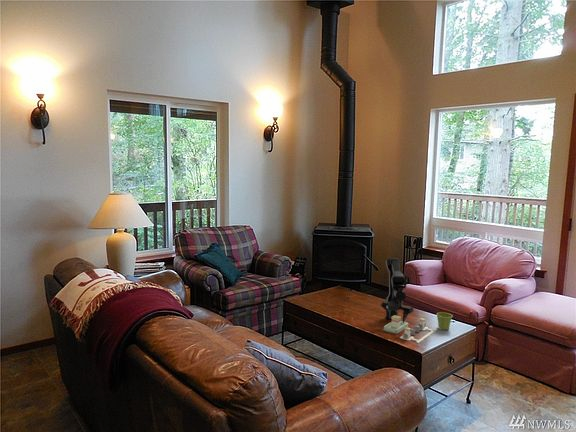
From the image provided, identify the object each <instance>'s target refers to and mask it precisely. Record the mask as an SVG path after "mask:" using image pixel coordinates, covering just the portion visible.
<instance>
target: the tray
mask: <svg viewBox="0 0 576 432" xmlns="http://www.w3.org/2000/svg"><path fill="white" fill-rule="evenodd" d="M391 323H392V321H391V322H389V323H387V324H385V325H384V326H383V327H382V330H383V331H385V332H387V333H390V334H391V333H392V334H394V335H398V334H399V333H401V332H402V331H405V329H404V328H405V327H408V328H409V327H410V326H409V324H410V323H409V322H407V321H405V322H404V323H403V320H401V327H399V328H398V329H394V328H391Z"/></svg>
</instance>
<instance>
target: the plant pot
mask: <svg viewBox="0 0 576 432" xmlns="http://www.w3.org/2000/svg"><path fill="white" fill-rule="evenodd" d="M436 317H437V323H438V324H437V325H438V328H439V330H443V331H447V330H448V331H449V330H450V327H451V322H452V318H453V314H451V313H448V312H442V311H441V312H437V313H436Z"/></svg>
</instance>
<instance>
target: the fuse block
mask: <svg viewBox="0 0 576 432" xmlns="http://www.w3.org/2000/svg"><path fill="white" fill-rule="evenodd" d="M421 331H422V332H423V331H424V332H425V331H429V332H428V333H426V334H425V335H424V336H422V337H421V338H419V339H418V338H417V339H416V338H415V337H414V336H416V332H417V333H420V332H421ZM436 332H437V328H434V329H431V328H429V326H426V319H425V318H422V317H419V323H418V325H414V329H413V328H411V327H409V326H408V327H405V328H404V333H402V335H400V337H399V339H401V340H405V341H408V342H410V341H414V342H415V343H416V344H417V345H419V344H420V343H422V342H423V341H425V339H428V338H429V337H430V336H431V335H433V334H435V333H436Z"/></svg>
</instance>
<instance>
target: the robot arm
mask: <svg viewBox="0 0 576 432" xmlns="http://www.w3.org/2000/svg"><path fill="white" fill-rule="evenodd" d="M385 266H386V269H387V271H388V278H389V279H388V283H389V284H388V285H389V286H388V288H389V289H388V291H389V292H388V296H387V297H386V300H384V301H382V302H381V304H380V307H381V308H382V309H383V310H385V312H386V313H385V317H384V318H385V319H387V320H392V318H391V317H392V316H394V315H396V316H399V312H398V311H400V310H401V311H403V312H402V314H403V315H402V321H403V323H404V322H406V320H407V317H408V316H409V314H412V313H413V312H414V308H413V306H410V305H405V306H403V305H404V304H403V301H404V300H406V299H405V298H406V297H407V295H406V293H405V292H404V289H406V288H407V281H406V280H407V278H406V277H404V276H405V275H404V273H402V272H401V268H400V266H401V263H400V259H399V258H395V257H392V258H387V259H386V260H385Z"/></svg>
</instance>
